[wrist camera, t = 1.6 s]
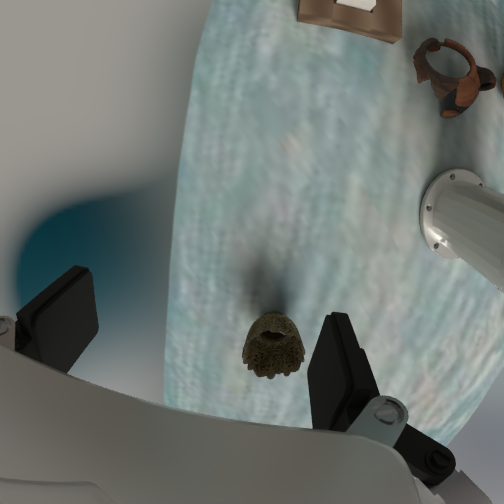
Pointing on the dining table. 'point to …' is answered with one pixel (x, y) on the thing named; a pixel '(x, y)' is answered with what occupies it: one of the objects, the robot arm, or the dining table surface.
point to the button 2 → (358, 4)
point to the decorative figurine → (503, 84)
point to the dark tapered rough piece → (273, 346)
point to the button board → (355, 18)
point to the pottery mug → (444, 85)
